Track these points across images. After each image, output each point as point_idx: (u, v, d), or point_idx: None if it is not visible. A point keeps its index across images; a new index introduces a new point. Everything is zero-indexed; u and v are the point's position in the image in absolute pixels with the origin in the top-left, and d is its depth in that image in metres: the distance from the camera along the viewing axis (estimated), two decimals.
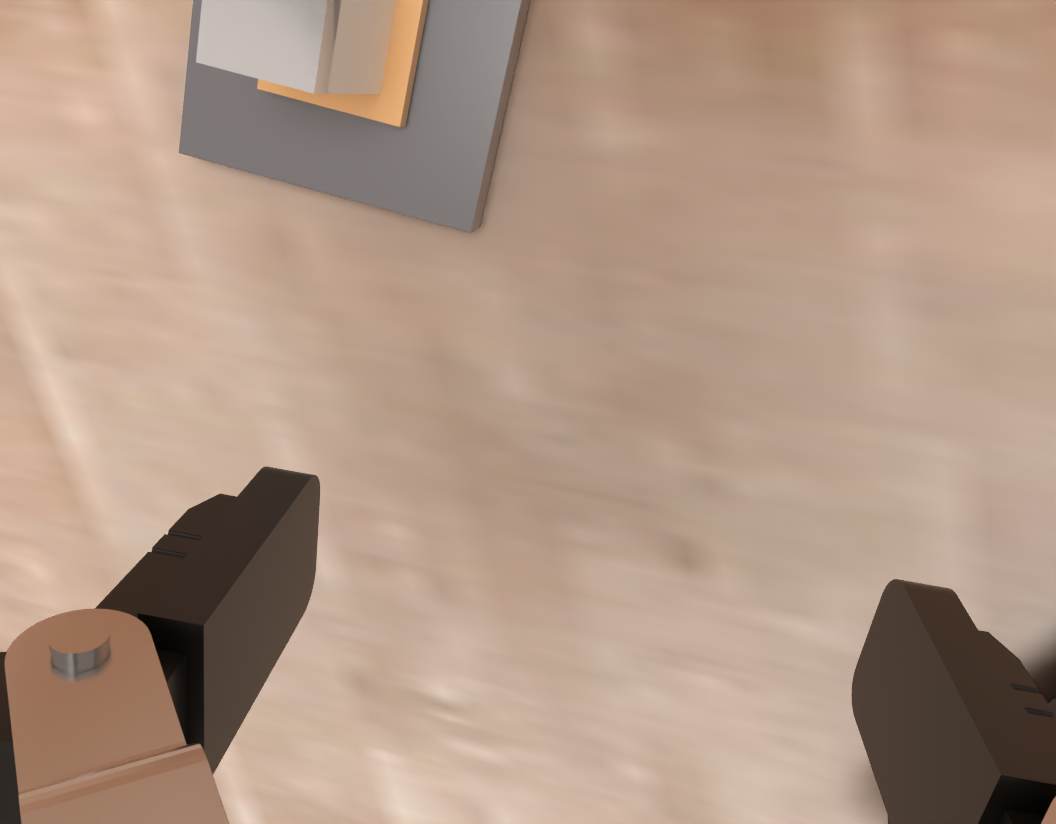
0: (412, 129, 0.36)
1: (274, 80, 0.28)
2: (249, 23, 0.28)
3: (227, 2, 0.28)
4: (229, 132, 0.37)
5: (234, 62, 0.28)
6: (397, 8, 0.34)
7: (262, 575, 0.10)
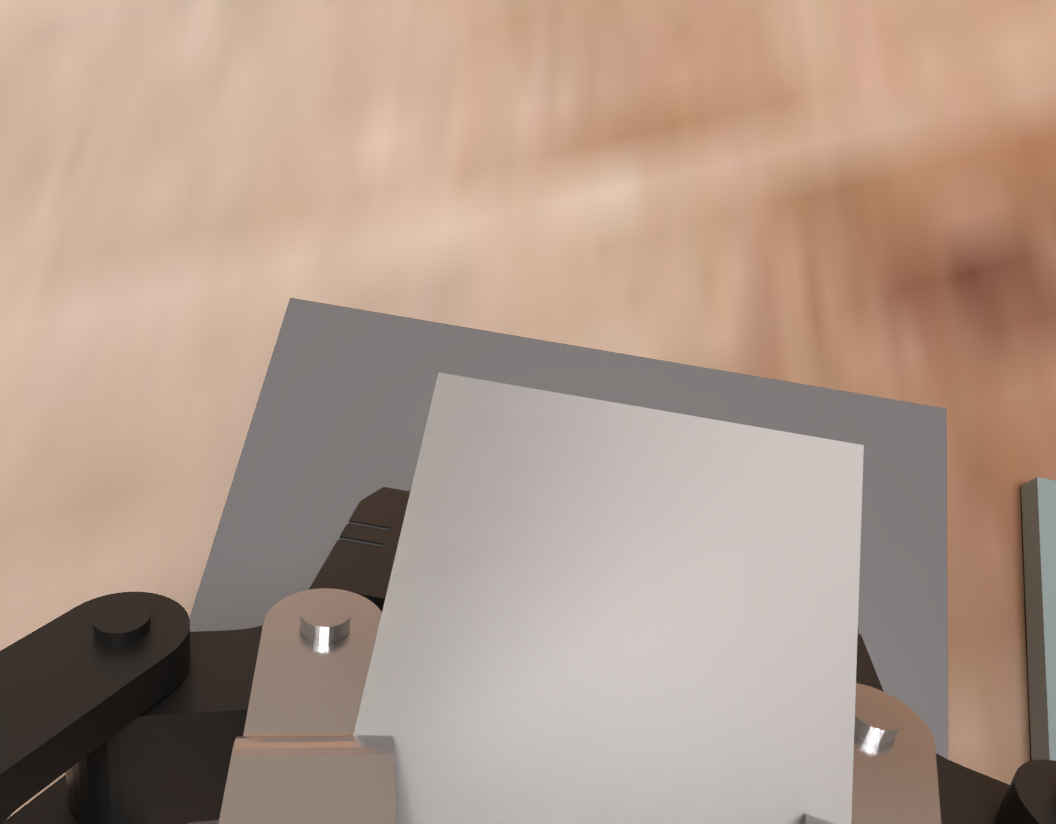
0: None
1: (380, 661, 0.07)
2: (575, 570, 0.08)
3: (637, 494, 0.08)
4: (330, 405, 0.17)
5: (439, 506, 0.08)
6: None
7: None
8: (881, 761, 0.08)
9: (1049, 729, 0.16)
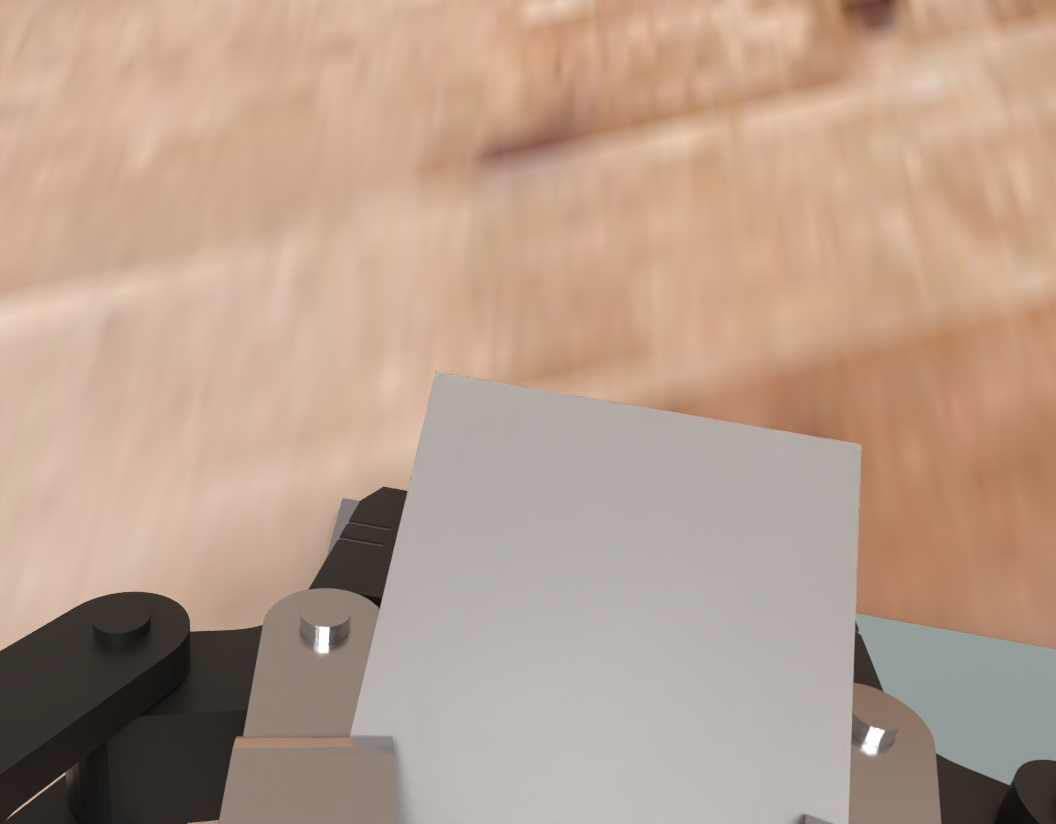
0: None
1: (377, 661, 0.07)
2: (572, 569, 0.08)
3: (634, 493, 0.08)
4: None
5: (437, 506, 0.08)
6: None
7: None
8: (881, 761, 0.08)
9: None
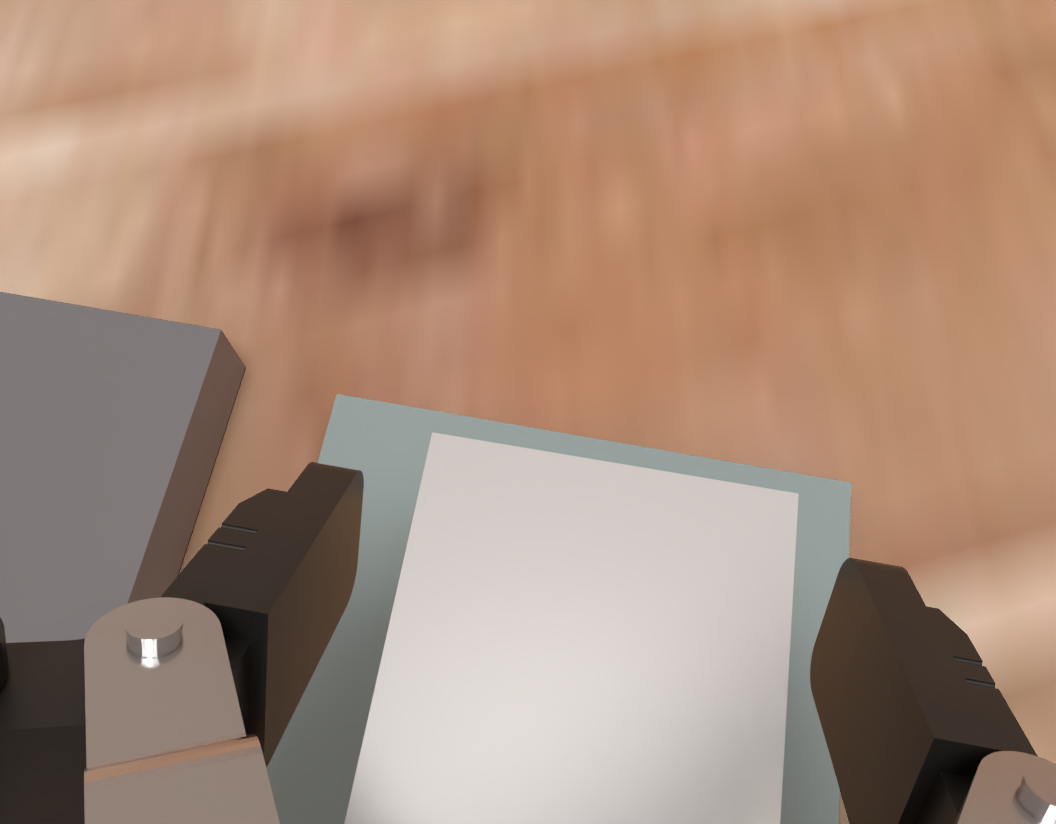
0: None
1: (383, 684, 0.09)
2: (549, 604, 0.09)
3: (602, 537, 0.09)
4: None
5: (434, 551, 0.09)
6: None
7: (316, 566, 0.11)
8: None
9: None
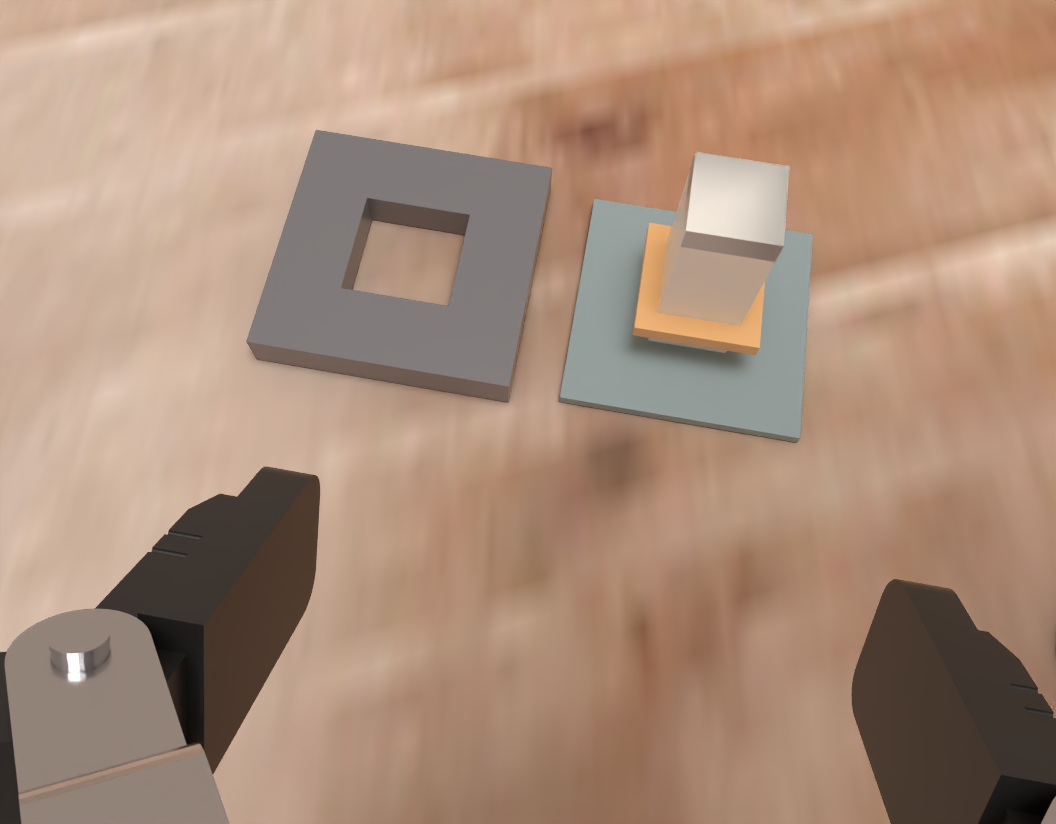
0: (332, 295, 0.44)
1: (691, 203, 0.36)
2: (728, 188, 0.37)
3: (740, 175, 0.37)
4: (330, 165, 0.47)
5: (699, 177, 0.37)
6: (723, 324, 0.42)
7: (263, 575, 0.10)
8: None
9: (581, 275, 0.47)
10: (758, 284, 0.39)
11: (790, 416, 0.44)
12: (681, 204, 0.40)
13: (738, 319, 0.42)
